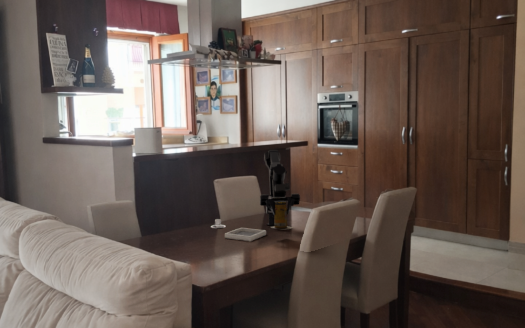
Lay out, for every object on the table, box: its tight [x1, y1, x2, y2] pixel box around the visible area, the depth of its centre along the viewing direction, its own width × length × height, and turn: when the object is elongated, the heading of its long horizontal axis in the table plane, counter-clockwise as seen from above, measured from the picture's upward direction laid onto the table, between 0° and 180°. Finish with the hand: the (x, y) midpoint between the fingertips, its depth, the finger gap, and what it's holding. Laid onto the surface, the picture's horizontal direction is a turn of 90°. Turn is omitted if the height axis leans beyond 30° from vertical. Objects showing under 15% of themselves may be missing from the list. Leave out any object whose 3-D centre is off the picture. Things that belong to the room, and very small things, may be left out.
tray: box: [224, 227, 267, 242], centre depth 246 cm, size 14×14×2 cm
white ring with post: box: [210, 218, 226, 229], centre depth 270 cm, size 9×8×4 cm
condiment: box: [270, 201, 294, 231], centre depth 239 cm, size 7×8×12 cm
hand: (281, 214), depth 237 cm, fingers closed on condiment, 6 cm apart
